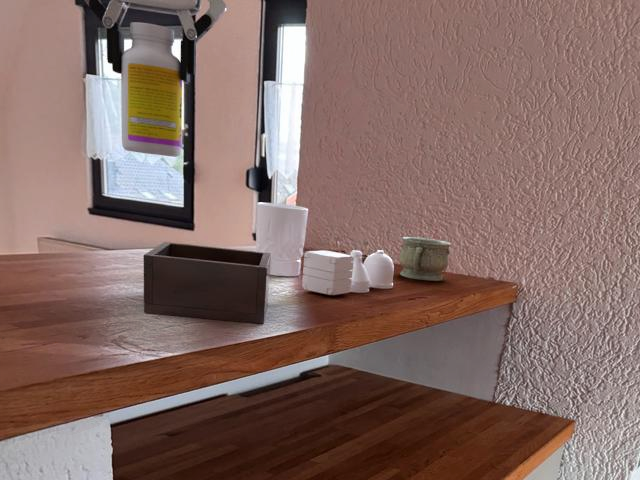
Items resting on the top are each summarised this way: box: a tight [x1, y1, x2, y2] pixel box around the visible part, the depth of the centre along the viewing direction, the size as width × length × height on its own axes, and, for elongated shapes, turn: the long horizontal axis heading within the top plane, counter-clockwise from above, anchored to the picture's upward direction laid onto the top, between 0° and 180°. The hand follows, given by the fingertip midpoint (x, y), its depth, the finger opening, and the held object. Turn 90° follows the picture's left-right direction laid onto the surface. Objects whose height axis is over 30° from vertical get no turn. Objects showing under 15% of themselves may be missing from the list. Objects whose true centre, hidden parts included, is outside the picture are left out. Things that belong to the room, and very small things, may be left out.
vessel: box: [398, 236, 452, 282], centre depth 128 cm, size 12×9×6 cm
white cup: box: [255, 201, 309, 277], centre depth 113 cm, size 8×8×10 cm
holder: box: [143, 241, 271, 325], centre depth 84 cm, size 13×13×6 cm
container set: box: [301, 249, 395, 296], centre depth 107 cm, size 20×5×6 cm, turn 150°
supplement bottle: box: [120, 21, 183, 157], centre depth 83 cm, size 7×7×13 cm
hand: (152, 75), depth 82 cm, fingers closed on supplement bottle, 6 cm apart
